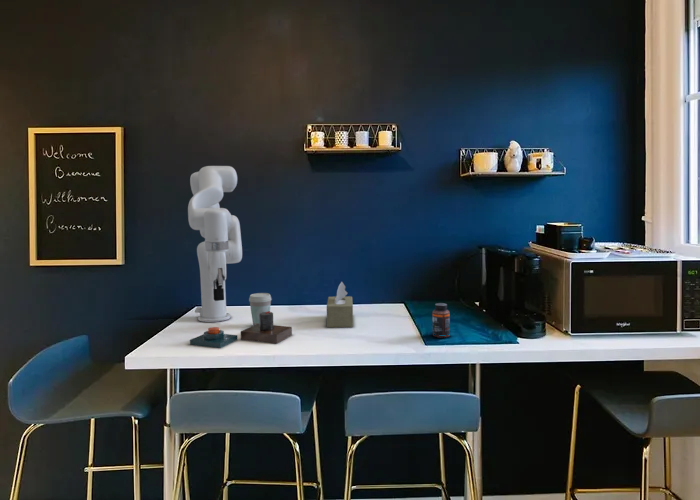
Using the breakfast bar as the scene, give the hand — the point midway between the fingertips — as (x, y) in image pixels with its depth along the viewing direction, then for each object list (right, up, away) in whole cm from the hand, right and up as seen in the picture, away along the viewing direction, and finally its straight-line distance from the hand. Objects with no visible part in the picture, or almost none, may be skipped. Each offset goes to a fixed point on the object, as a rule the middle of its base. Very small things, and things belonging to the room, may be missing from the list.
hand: (218, 299), depth 171 cm
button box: (-1, -14, -1) cm, 14 cm away
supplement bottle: (+76, -13, +4) cm, 78 cm away
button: (-1, -11, -1) cm, 11 cm away
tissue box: (+41, -11, +26) cm, 50 cm away
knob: (+15, -10, +4) cm, 19 cm away
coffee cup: (+11, -12, +20) cm, 26 cm away
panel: (+15, -14, +5) cm, 21 cm away
